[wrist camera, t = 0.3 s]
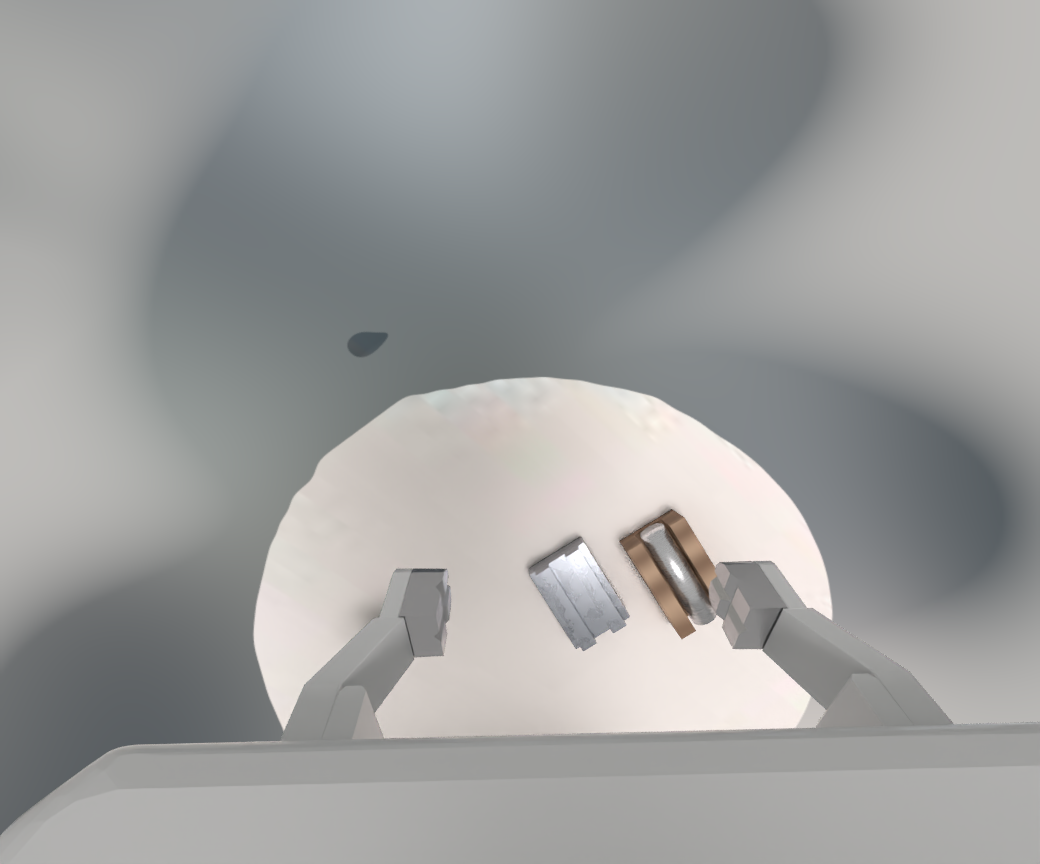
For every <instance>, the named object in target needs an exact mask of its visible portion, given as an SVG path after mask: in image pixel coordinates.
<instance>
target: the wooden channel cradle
mask: <svg viewBox="0 0 1040 864" xmlns="http://www.w3.org/2000/svg"><path fill="white" fill-rule="evenodd" d="M656 523H662V524H663V525H664V527H665V528H666V530H667V531H668V533H669V535H670V536H671V538H672V540H673V541H674V543H675V544H676V546H677V548H678V549H679V551H680V553H681V554H682V556H683V557H684V559H685V561H686V562H687V564H688V566H689V567H690V569H691V570H692V572H693V574H694V575H695V577H696V579H697V580H698V582H699V583H700V585H701V587H702V588H703V590H704V592H705V593H706V595H707V596H708V598H709V586H710V582H711V581H712V580H713V579H714V578H715V577H717V575H716V573H715V571H714V570H715V567H714V565H713V563H712V562H711V560H710V559H709V557H708V555H707V554H706V552H705V550H704V549H703V547H702V546H701V544H700V542H699V541H698V539H697V537H696V536H695V534H694V532H693V531H692V529H691V528H690V526H689V524H688V523H687V521H686V519H685V518H684V517H683V516H681V515H680V514H678V513H677V512H675V511H674V510H670V511H669V512H667V513H665V514H664V515H662V516H660V517H659V518H657V519H655V520H654V521H652V522H650V523H649V524H647V525H645V526H644V527H642V528H641V529H639V530H637V531H636V532H634V533H632V534H631V535H629V536H627V537H626V538H624V539H622V540H621V541H620V543H621V544H622V546H623V548H624V549H625V551H626V552H627V554H628V556H629V557H630V559H631V560H632V562H633V564H634V565H635V567H636V569H637V570H638V572H639V573H640V575H641V577H642V578H643V580H644V581H645V583H646V585H647V586H648V588H649V589H650V591H651V593H652V594H653V596H654V598H655V599H656V601H657V602H658V604H659V606H660V607H661V609H662V610H663V612H664V614H665V615H666V617H667V618H668V620H669V622H670V623H671V625H672V626H673V627H674V629H675V630H676V632H677V633H678V635H679V636H680V637H681V639H683V638H685V637H686V636H688V635H690V634H691V633H693V632H695V631H696V630H695V629H694V627H693V625H692V624H691V622H690V621H689V619H688V617H687V616H689V615H688V613H687V611H686V610H685V608H684V606H683V605H682V603H681V602H680V600H679V598H678V597H677V595H676V594H675V592H674V590H673V589H672V587H671V585H670V584H669V582H668V581H667V579H666V577H665V576H664V574H663V573H662V571H661V569H660V568H659V566H658V564H657V563H656V561H655V560H654V558H653V556H652V555H651V553H650V551H649V550H648V548H647V547H646V545H645V543H644V542H643V540H642V539H641V537H640V534H641V532H642V531H643V530H644V529H645V528H647V527H649V526H650V525H653V524H656ZM709 600H710V599H709Z"/></svg>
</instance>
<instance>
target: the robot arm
mask: <svg viewBox="0 0 1040 864" xmlns="http://www.w3.org/2000/svg"><path fill="white" fill-rule="evenodd" d="M714 571H715V573H716V575H717V577H715V578H714V579H713V580H712V581H711V582H710V586H709V599H710V602H711V605H712V608H713V610H714V612H715V614H717V615H718V616H719V617H721V618H722V619H723V620H724V622H723V626H722V628H723V630H724V632H725V634H726V636H727V638H728V640H729V642H730V644H731V646H732V648H733V649H763V650H762V651H763V652H764V653H766V654H767V655H768V656H769V657H770V658H771V659H772V660H773V661H774V662H775V663H776V664H777V665H778V666H780V667H781V668H782V669H783V670H784V671H785V672H786V673H787V674H788V675H789V676H790V677H791V678H792V679H794V680H795V681H796V682H797V683H798V684H799V685H800V686H801V687H802V688H803V689H804V690H805V691H806V692H808V693H809V694H810V695H811V696H812V697H813V698H814V699H815V700H816V701H817V702H818V703H819V704H821V705H822V706H823V707H824V708H825V709H826V711H825V713H824V714H823V716H822V717H821V718H820V720H819V721H818V723H817V726H816V728H786V729H746V730H706V731H666V732H625V733H586V734H548V735H510V736H471V737H430V738H389V739H384V737H383V735H382V732H381V729H380V727H379V724H378V721H377V719H376V716H375V712H376V710H377V709H378V708H379V706H380V705H381V703H382V702H383V701H384V699H385V698H386V697H387V695H388V694H389V693H390V691H391V690H392V689H393V687H394V686H395V685H396V683H397V682H398V680H399V679H400V678H401V676H402V675H403V674H404V672H405V671H406V670H407V668H408V667H409V666H410V664H411V663H412V661H413V660H414V657H429V656H444V650H445V644H446V638H447V630H446V622H447V621H448V620H449V618H450V610H451V590H450V586H448V585H447V583H448V571H447V569H396V570H395V572H394V573H393V575H392V578H391V582H390V585H389V588H388V591H387V594H386V597H385V600H384V603H383V606H382V610H381V613H380V616H379V618H373V619H372V620H371V621H370V622H369V623H368V624H367V625H366V626H365V627H364V628H363V629H362V630H361V631H360V632H359V633H358V634H357V635H356V636H355V637H354V638H353V639H352V640H351V641H349V642H348V643H347V644H346V645H345V646H344V647H343V648H342V649H341V650H340V651H339V652H338V653H337V654H336V655H335V656H334V657H333V658H332V659H331V660H330V661H329V662H328V663H327V664H326V665H325V666H324V667H323V668H321V669H320V670H319V671H318V672H317V673H316V674H315V675H314V676H313V677H312V678H311V679H310V680H309V681H308V682H307V683H306V684H305V685H304V687H303V689H302V691H301V694H300V696H299V698H298V700H297V703H296V705H295V707H294V710H293V712H292V714H291V717H290V719H289V721H288V724H287V726H286V728H285V730H284V733H283V735H282V737H281V740H280V741H268V742H228V743H188V744H147V745H131V746H123V747H119V748H117V749H114V750H111V751H110V752H107V753H106V754H104V755H103V756H101V757H100V758H99V759H97V760H96V761H94V762H93V763H91V764H90V765H88V766H87V767H86V768H84V769H83V770H81V771H80V772H79V773H77V774H76V775H75V776H73V777H72V778H70V779H69V780H68V781H66V782H65V783H64V784H62V785H61V786H60V787H58V788H57V789H56V790H54V791H53V792H51V793H50V794H49V795H47V796H46V797H45V798H44V799H42V800H41V801H39V802H38V803H37V804H36V805H34V806H33V807H32V808H31V809H29V810H28V811H27V812H25V813H24V814H23V815H22V816H20V817H19V818H18V819H17V820H16V821H15V822H14V823H12V824H11V825H10V826H9V827H8V828H7V829H6V830H5V831H4V832H3V833H2V835H1V836H0V864H1040V722H1025V723H1024V722H1022V723H986V724H953V722H952V721H951V720H950V719H949V718H948V717H947V715H946V714H945V713H944V712H943V711H942V709H941V708H940V707H939V706H938V705H937V703H936V702H935V701H934V700H933V699H932V697H931V696H930V695H929V694H928V693H927V692H926V690H925V689H924V688H923V687H922V686H921V685H920V683H919V682H918V681H917V680H916V678H915V677H914V676H913V675H912V674H911V672H910V671H908V670H906V669H905V668H904V667H902V666H901V665H899V664H898V663H896V662H894V661H893V660H891V659H890V658H888V657H887V656H885V655H884V654H882V653H881V652H879V651H878V650H876V649H874V648H873V647H871V646H870V645H868V644H867V643H865V642H864V641H862V640H861V639H859V638H858V637H856V636H854V635H853V634H851V633H850V632H848V631H847V630H845V629H844V628H842V627H840V626H839V625H838V624H836V623H834V622H833V621H831V620H830V619H828V618H827V617H825V616H824V615H822V614H821V613H819V612H818V611H816V610H815V609H813V608H807V607H806V606H805V604H804V603H803V602H802V600H801V599H800V598H799V596H798V595H797V593H796V592H795V591H794V589H793V588H792V587H791V585H790V584H789V582H788V581H787V580H786V578H785V577H784V576H783V574H782V573H781V572H780V570H779V569H778V567H777V566H776V565H775V564H774V563H773V562H771V561H753V562H752V561H739V562H719V563H718V564H717V565H716V568H715V570H714Z"/></svg>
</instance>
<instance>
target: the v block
mask: <svg viewBox="0 0 1040 864" xmlns="http://www.w3.org/2000/svg"><path fill="white" fill-rule="evenodd" d="M529 576H530V577H531V579H532V580H533V582H534V584H535V585H536V587H537V588H538V590H539V591H540V593H541V595H542V596H543V598H544V599H545V601H546V602H547V604H548V606H549V607H550V609H551V610H552V612H553V614H554V615H555V617H556V618H557V620H558V621H559V623H560V625H561V626H562V628H563V629H564V631H565V633H566V634H567V636H568V637H569V639H570V640H571V642H572V644H573V645H574V647H575V648H576V649H577V648H579V647H581V648H582V650H583V651H585V650H586V649H588V648H590V647H591V646H593V645H595V644H596V640H595V637H597V636H599V635H600V634H602V633H604V632H605V631H607V630H609V629H611V631H612V632H613V633H615V632H616V631H618V630H620V629H621V628H623V627H625V626H626V623H625V621H624V620H625V619H627V618H629V617H630V616H629V614H628V612H627V610H626V608H625V607H624V605H623V603H622V602H621V600H620V599H619V597H618V595H617V594H616V592H615V591H614V589H613V587H612V586H611V584H610V583H609V581H608V579H607V578H606V576H605V575H604V573H603V571H602V570H601V568H600V567H599V565H598V563H597V562H596V560H595V559H594V557H593V555H592V554H591V552H590V551H589V549H588V547H587V546H586V544H585V543H584V541H583V539H582V538H581V537H579V538H578V539H576V540H574V541H573V542H571V543H570V544H568V545H566V546H565V547H563V548H561V549H560V550H558V551H556V552H555V553H553V554H552V555H550V556H548V557H547V558H545V559H543V560H542V561H540V562H538V563H537V564H535V565H533V566H532V567H530V568H529Z"/></svg>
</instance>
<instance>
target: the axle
mask: <svg viewBox="0 0 1040 864" xmlns="http://www.w3.org/2000/svg"><path fill="white" fill-rule="evenodd" d="M640 537H641V539H642V540H643V542H644V543H645V545H646V547H647V548H648V550H649V551H650V553H651V555H652V556H653V558H654V560H655V561H656V563H657V564H658V566H659V568H660V569H661V571H662V573H663V574H664V576H665V577H666V579H667V581H668V582H669V584H670V585H671V587H672V589H673V590H674V592H675V594H676V595H677V597H678V598H679V600H680V602H681V603H682V605H683V606H684V608H685V610H686V611H687V613H688V615H689V616H690V618H691V619H692V621H693V622H694V623H695V624H697V625H705V624H708V623H710V622H711V621H713V620H714V619H715V617H716V615H717V614H715V612H714V610H713V608H712V605H711V602H710V600H709V598H708V596H707V595H706V593H705V592H704V590H703V588H702V587H701V585H700V583H699V582H698V580H697V579H696V577H695V575H694V574H693V572H692V570H691V569H690V567H689V566H688V564H687V562H686V561H685V559H684V557H683V556H682V554H681V553H680V551H679V549H678V548H677V546H676V544H675V543H674V541H673V540H672V538H671V536H670V535H669V533H668V531H667V530H666V528H665V527H664V525H663V524H662V523H656V524H653V525H650V526H649V527H647V528H645V529H644V530H643V531H642V532H641V534H640Z"/></svg>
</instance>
